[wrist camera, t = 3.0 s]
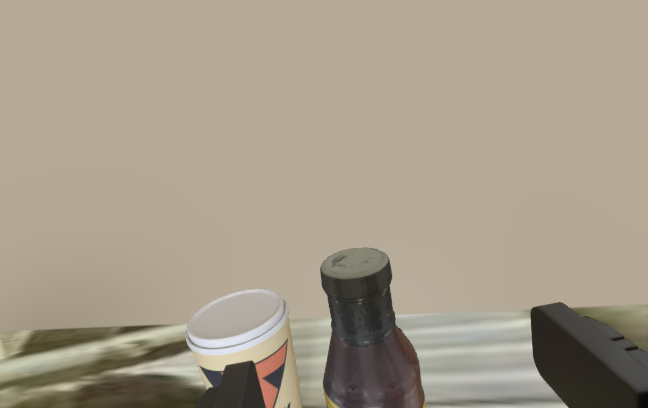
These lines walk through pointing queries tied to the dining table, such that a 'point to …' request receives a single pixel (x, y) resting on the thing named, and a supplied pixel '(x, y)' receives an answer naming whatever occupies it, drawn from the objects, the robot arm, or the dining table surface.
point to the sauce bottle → (366, 336)
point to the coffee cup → (247, 342)
